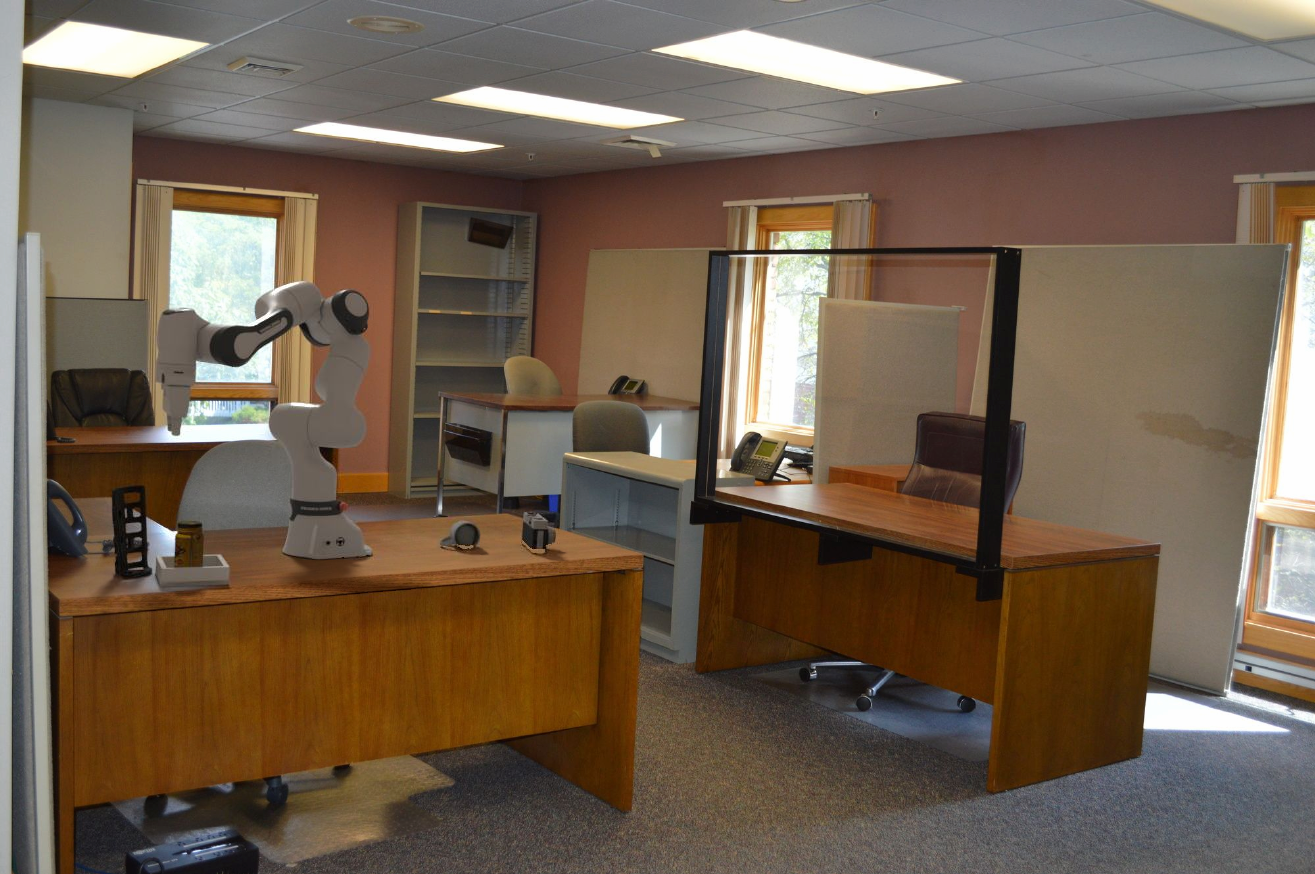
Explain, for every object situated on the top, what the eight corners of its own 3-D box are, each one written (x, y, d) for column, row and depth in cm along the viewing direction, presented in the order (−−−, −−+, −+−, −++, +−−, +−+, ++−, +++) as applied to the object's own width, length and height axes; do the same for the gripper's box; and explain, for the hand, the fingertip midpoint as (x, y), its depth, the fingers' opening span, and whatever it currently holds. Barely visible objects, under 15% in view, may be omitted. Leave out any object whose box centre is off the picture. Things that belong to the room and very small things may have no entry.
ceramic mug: (473, 544, 323) (474, 517, 323) (480, 549, 316) (481, 522, 315) (436, 544, 319) (437, 518, 319) (442, 550, 312) (443, 523, 311)
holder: (140, 578, 252) (135, 490, 251) (105, 580, 252) (99, 491, 250) (158, 569, 263) (153, 484, 262) (124, 570, 263) (119, 485, 261)
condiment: (164, 574, 255) (166, 521, 254) (194, 568, 263) (196, 517, 262) (188, 579, 252) (190, 526, 251) (217, 573, 260) (220, 521, 259)
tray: (220, 571, 267) (220, 554, 266) (228, 584, 254) (229, 566, 254) (155, 573, 260) (156, 555, 260) (161, 586, 248) (161, 568, 247)
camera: (559, 554, 318) (561, 519, 318) (530, 554, 316) (533, 518, 315) (547, 544, 332) (550, 511, 331) (520, 544, 329) (522, 510, 328)
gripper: (157, 372, 277) (155, 428, 278) (165, 377, 259) (163, 437, 260) (185, 373, 280) (182, 429, 281) (195, 379, 262) (192, 438, 263)
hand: (173, 433), depth 270 cm, fingers open, 8 cm apart
